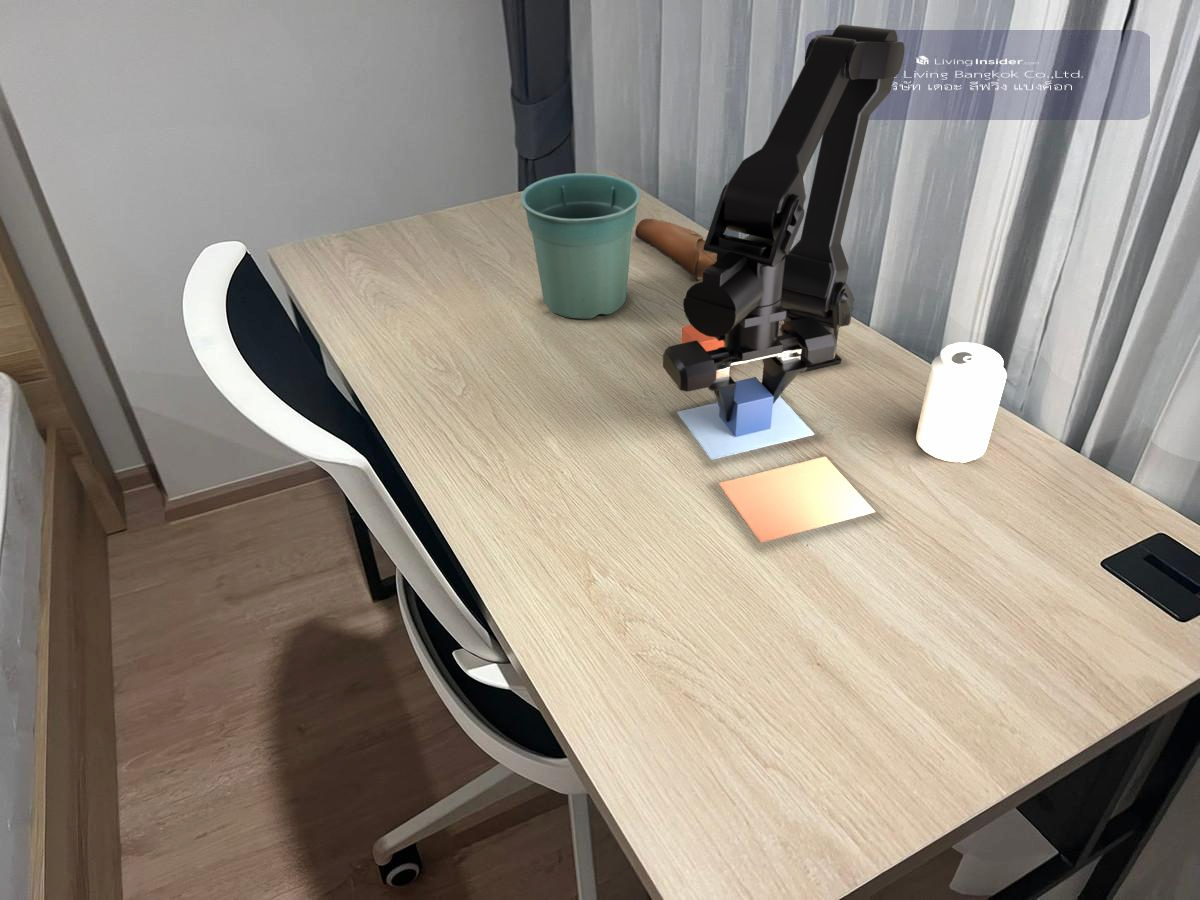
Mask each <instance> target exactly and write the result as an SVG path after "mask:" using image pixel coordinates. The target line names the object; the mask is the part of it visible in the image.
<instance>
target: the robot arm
mask: <svg viewBox="0 0 1200 900" xmlns="http://www.w3.org/2000/svg"><path fill="white" fill-rule="evenodd" d="M904 56H905V43H904V42H903V41H898V33H897V31H896V30H895V29H893V28H892V29H890V28H881V27H872V26H862V25H850V24H839V25H837V26H836V28H835V29H834V31H833V33H832V34H831V33H825V34H816V36H815V37H813V38H811V40H810V41H809V43H808V45H807V48H806V50H805V54H804V64H803V66H802V68H801V70H800V72H799V74H798V76H797V78H796V80H795V82H794V85H793V86H792V89H791V90H790V92H789V95H788V96H787V99H786V100H785V103H784V105H783V107H782V108H781V111H780V113H779V115H778V117H777V118H776V120H775V123H774V125H773V127H772V129H771V131H770V132H769V135H768V137H767V139H766V141H765V142H764V144H763V145H762V146H761V148H760V149H758V150H757V151H755V152H754V153H752V154H750V155H749V156H747V157H745V158H744V159H743V160H742V161H741V162H740V164H739V165H738V167H737V168H736V169H735V172H733V174H732V176H731V178H730V179H729V181H728V182H727V183H726V184H725V185H724V187H723V188H722V191H721V193H720V196H719V199H718V202H717V205H716V208H715V211H714V214H713V217H712V220H711V223H710V226H709V229H708V232H707V235H706V238H705V240H704V241H705V244H704V248H703V249H704V251H707V252H711V253H716V254H717V261H716V262H715V263H714V264H712V265H710V266H708V267H707V268H706V269H704V271H703V278H701V279H700V280H697V281H696V282H695V283H694V284H693V285H691V286H690V287H689V289H688V290H687V291H686V294H685V295H684V297H683V305H682V306H683V311H684V314H685V317H686V319H687V321H688V323H689V324H690V325H692V326H693V327H694V328H695V329H696V330H697V331H699V332H700V333H702V334H704V335H706V336H710V337H716V339H717V340H718V341H722V340H723V341H724V347H720V348H718V349H716V350H711V351H706V350H705V349H704V348H703V347H702V346H701V344H700V343H699V342H698V341H697V340H696V341H691V342H686V343H682V344H681V343H678V344H673V345H668V346H667V347H666V348H665V349H664V352H663V353H662V368H663V369H664V371H665V372H666V373H667V375H668V376H669V377H670V379H671V380H672V381H673V383H674V384H675V385H676V386H677V388H678V389H679V390H680V391H683V392H686V393H689V392H694V391H697V390H702V389H708V390H709V391H711V392H713V395H714V398H715V400H716V403H718V406H719V409H720V411H721V414H722V417H723V419H724V420H725V421H726V422H729V421H730V418H731V415H732V410H733V403H734V396H735V389H736V383H735V381H736V380H734V379H733V378H732V377H731V375H730V373H731V367H733V366H737V365H741V364H746V363H751V362H756V361H759V360H762V363H763V370H762V379H761V383H762V384H763V385H764V387H765V388H766V389H767V390H768V391H769V392H770V393H771V394H772V395H773V397H774V398H773V404H774V403H775V401H776V400H777V399H778V397H779V396H780V397H781V395H782V394H783V392H784V391H785V390H786V388H788V386H789V385H790V384H791V383H792V382H793V381H794V379H795V378H796V377H797V376H798V375H799V374H800V373H804V372H810V371H814V370H819V369H822V368H827V367H832V366H836V365H840V364H842V358H841V357H840V355H838V354H837V346H838V337H839V332H840V331H839V330H840V328H841V327H846V326H848V327H849V326H850V324H851V321H852V313H853V311H854V309H855V308H854V306H855V300H856V298H855V297H854V294H853V293H852V290H851V288H850V287H849V285H848V284H847V279H848V275H849V268H850V267H849V263H848V262H847V257H846V256H845V252H844V250H843V247H842V238H843V234H844V230H845V225H846V221H847V217H848V212H849V208H850V205H851V199H852V194H853V190H854V185H855V182H856V177H857V173H858V168H859V164H860V160H861V155H862V151H863V147H864V143H865V138H866V134H867V129H868V124H869V121H870V117H871V115H872V114H873V113H874V112H875V110H876V109H877V108H878V107H879V106H880V105H881V103H883V101H884V100H885V99H886V98H887V97H888V96H889V95H890V93H891V90H892V87H893V83H894V80H895V78H896V77H898V75H899V73H900V71H901V68H902V66H903V62H904V58H905V57H904ZM819 143H820V146H819V150H818V156H817V161H816V163H815V168H814V169H815V170H814V174H813V179H812V184H811V188H810V193H809V198H808V203H807V208H806V212H805V209H804V206H805V202H806V199H807V196H806V189H805V182H804V176H805V173H806V171H807V168H808V166H809V164H810V162H811V160H812V157H813V155H814V154H815V152H816V149H817V148H818V145H819ZM804 217H805V218H804ZM803 220H804V221H803ZM802 222H803V227H802V231H801V232H802V233H801V235H800V239H799V240H798V242H797V243H796V244H794V241H795V239H796V236H797V234H798V232H799V229H800V228H801V225H802ZM726 230H729V231H731V232H735V233H740V234H744V235H746V237H744V238H741V237H736V236H733V235H729V234H728V235H727V234H725V232H726ZM793 244H794V246H793ZM780 321H783V323H782V324H781V325H780ZM779 327H780V329H779Z"/></svg>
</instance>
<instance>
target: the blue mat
mask: <svg viewBox="0 0 1200 900" xmlns="http://www.w3.org/2000/svg"><path fill="white" fill-rule="evenodd" d="M676 414H677V415H678V416H679V418H680V419H681V420H682V422H683V423H684V425H685V426H686V427H687V429H688V430H689V431H690V433H691V435H692V436H693V437H694V439H695V440H696V441H697V442H698V444H699V446H701V448H702V450H703V451H704V452H705V454H706V455H707V456H708V458H709V459H710V460H711V461H712V460H716V459H721V458H725V457H729V456H733V455H736V454H740V453H741V454H742V453H745V452H750V451H752V450H757V449H761V448H765V447H770V446H773V445H778V444H782V443H785V442H786V443H787V442H790V441H795V440H798V439H802V438H806V437H807V438H808V437H811V436H814V435H816V434H815V433H814V431H813V430H812V429H811V428H810V426H808V425H807V424H806V423H805V422H804V420H803V419H802V418H801V417H800V416H799V415H798V414H797V412H795V411H794V410H793V409H792V407H791V406H790V405H789V404H788V403H787V402H786V401H785V399H783V397H782V396H781V395H780V396H779V397H778V399H777V400H776V401H775V403H774V404H773V408H772V419H771V428H770V429H767V430H763V431H759V432H755V433H751V434H746V435H742V436H738V437H735V436H734V435H733V433H732V432H731V431H730V430H729V428H728V427H727V426H726V425H725V423H724V422H723V421H722V419H721V418H720V417H719V406H718V403H717V402H714V403H708V404H704V405H701V406H696V407H691V408H687V409H682V410H677V411H676Z"/></svg>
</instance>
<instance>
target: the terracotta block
mask: <svg viewBox="0 0 1200 900" xmlns="http://www.w3.org/2000/svg"><path fill="white" fill-rule="evenodd" d="M680 337H681V339H680V340H681V341H680V344H682V343H686V342H691V341H696V340H697V341H698V342H699V343H700V344H701V346H702V347H703V348H704V349H705V350H706V351H711V350H716V349H718V348H720V347H724V341H723V340H722V341H718V340H717V339H716V337H710V336H706V335H704V334H702V333H700V332H699V331H697V330H696V329H695V328H694V327H693V326H692V325H691V324H690V325H685V326H681V336H680Z"/></svg>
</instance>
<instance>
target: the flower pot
mask: <svg viewBox="0 0 1200 900" xmlns="http://www.w3.org/2000/svg"><path fill="white" fill-rule="evenodd" d="M641 198H642V192H641V190H640V188H639V187H638V186H637V185H636V184H635V183H633V182H632V181H630V180H628V179H625V178H623V177H620V176H616V175H611V174H606V173H596V172H576V173H573V172H572V173H564V174H558V175H557V174H556V175H553V176H549V177H546V178H542V179H540V180H537V181H535V182H533V183H531V184H530V185H528V186H527V187H525V188H524V189H523V191H522V192H521V194H520V204H521V206H522V207H523V209H524V211H525V213H526V217H527V219H526V220H527V224H528V229H529V230H530V232H531V234H532V241H533V246H534V253H535V257H536V263H537V271H538V276H539V281H540V287H541V293H542V294H541V295H542V299H543V303H544V304H545V305H546V306H547V307H548V310H549V311H550V312H552V313H553V314H556V315H558V316H561V317H564V318H569V319H575V320H578V319H579V320H587V319H594V318H595V317H597V316H598V315H604V316H607V315H611V314H614V313H615V312H617V311H618V310H619V309H620V308H622V307H623V305H624V304H625V303H626V299H627V293H628V281H629V270H630V269H629V268H630V258H631V256H630V255H631V246H632V245H631V244H632V235H633V228H635V224H636V216H637V208H638V207H637V206H638V205H639V204H640V201H641Z"/></svg>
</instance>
